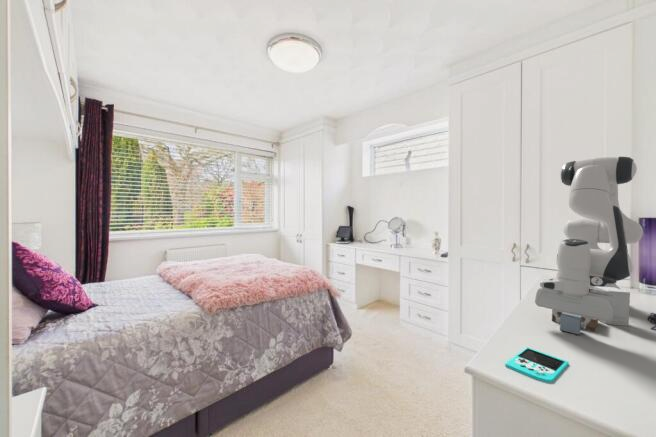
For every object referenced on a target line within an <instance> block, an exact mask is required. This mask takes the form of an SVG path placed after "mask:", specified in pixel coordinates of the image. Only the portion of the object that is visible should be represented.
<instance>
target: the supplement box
mask: <svg viewBox="0 0 656 437" xmlns="http://www.w3.org/2000/svg"><path fill="white" fill-rule="evenodd" d="M594 290H597V291H604V292H608V293H609V294H611V295H613V296H614V297H615V304H614V305H613V306H612V312H613V319H612V320H611V321H604V320H599V319H598V322H599V321H600V322H602V323H604V324H606V325H614V326H615V325H616V326H623V327H624V326H625V327H626V326H627V327H628V326H629V324H630V321H629V320H630V303H631V300H630V298H631V292H630V291H627V290H623V289H621V288H620V289H618V288H615V287H599V286H594ZM611 295H609V296H611Z"/></svg>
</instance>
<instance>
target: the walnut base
mask: <svg viewBox="0 0 656 437" xmlns="http://www.w3.org/2000/svg"><path fill="white" fill-rule="evenodd" d="M562 313H563V311H558V312H557V314H558V316H559V317H560V316H561V314H562ZM565 313H567V312H565ZM569 314H572V313H569ZM574 315H576V314H574ZM578 316H581V315H578ZM551 321H552V322H555V323H557V322H556V317H555V316H554V314H553V313H552V312H551ZM585 321H586V320H585V316H581V322H583V323H584V322H585ZM598 323H599V320H598V319H595V318H591V321H590V322H589V323H588V324H587V325H586V329H585V330H589V331H593V332H596V329H597V327H598Z"/></svg>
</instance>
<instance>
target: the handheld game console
mask: <svg viewBox="0 0 656 437" xmlns="http://www.w3.org/2000/svg"><path fill="white" fill-rule="evenodd" d="M569 364H570V363H569V361H568V360H565V359H562V358H560V357H557V356H554V355H551V354H548V353H545V352H543V351H540V350H536V349H534V348H532V347H525V348H524V349H523V350H521V351H520V352H519V353H517V354H516V355H514V356H513V357H511V359H509V360H508V361H507V362H505V364H504V366H505V367H506V368H509V369H511V370H513V371H514V372H515V371H516V372H518V373H521V374H523V375H525V376H528V377H530V378H532V379H535V380H538V381H541V382H543V383H544V382H545V383H552V382H554V381H555V380H556V378H558V377H559V375H560V374H561V373H562V372H563V371H564V370H565V369H566V368H567V367H568V366H569Z"/></svg>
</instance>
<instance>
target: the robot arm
mask: <svg viewBox="0 0 656 437" xmlns="http://www.w3.org/2000/svg"><path fill="white" fill-rule="evenodd" d="M561 167H562V168H561V170H560V171H559V172H560V173H559V176H560V179H561V183H562V184H564V185H565V186H567V187H568V186H569V187H570V188H569V194H568V205H569V208H570V210H572V211H573V212H574V213H575V214H577V215H578V216H581V217H582V218H574V219H569V220H568V221H567V222H565V223H564V225H563V234H564V235H565V237H566V238H567V239H564V240H563V239H562V240H561V241H560V243H559V247H558V251H557V255H556V265H557V272H556V275H555V276H556V277H555V278H546V279H542V280H541V281H540V282H539V286H540V287H539V288H538V289H537V291H536V294H535V299H534V303H535V305H536V306H537V307H540V308H546V309H550V310H551V314H552V313H553V314H554V316H555V317H556V322H555V323H558V324H560V317H559V316H558V314H557V312H558V311H563V312H567V313H572V314H576V315H581V316H585V320H586V321H585V322H584V323H583V322H580V328H581V330H582V329H583V330H587V329H586V325H587V324H588V323H589V322H590V321H591V318H595V319H599V320H604V321H611V320H612V319H613V312H612V306H613V305H614V304H615V297H614V296H613V295H611V294H609V293H608V292H604V291H597V290H594V286H599V287H615V288H618V289H621V288H620V287H619V286H618V285H617V282H618V281H622V280H624V279H626V278H628V277H630V276H631V274H632V272H633V262H632V259H631V257H630V253H629V248H628V245H630V244H636V243H638V242H639V241H640V240H641V239H642V238H643V236H644V229H643V227H642V225H641V224H640V223H639V222H637V221H635V220H633V219H631V218H630V217H628V216H627V215H625V214H624V212H623V211H622V210H621V208H620V204H619V202H620V201H619V185H622V184H628V183H629V182H631V181H632V180H633V178H634V177H635V175H636V173H637V170H638V169H637V165H636V163H635V161H634V159H633V158H631V157H630V156H629V157H628V156H618V157H610V156H609V157H596V158H590V159H589V158H588V159H582V160H577V161H575V160H572V161H569V162H566V163H565V164H563V165H562V166H561ZM600 243H601V244H610V245H609V246H610V248H609V249H603V248H600V247H599V245H598V244H600ZM609 295H611V296H609ZM599 320H598V321H599Z"/></svg>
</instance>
